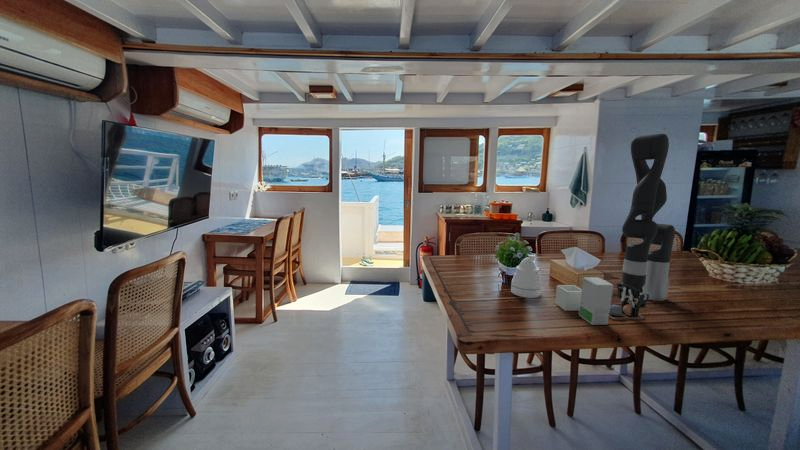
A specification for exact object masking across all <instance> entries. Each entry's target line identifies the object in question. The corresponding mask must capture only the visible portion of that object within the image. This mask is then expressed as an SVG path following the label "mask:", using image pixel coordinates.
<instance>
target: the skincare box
mask: <svg viewBox="0 0 800 450" xmlns="http://www.w3.org/2000/svg"><path fill="white" fill-rule="evenodd" d="M582 280H583V281H582V286H581V287H582V288H581V289H582V294H581V301H580V309H579V311H578V316H579V317H581V319H583V320H585V321H586V322H588V323H589V324H590V325H591V326H599V325H603V326H604V325H605V326H606V325H608V324H609V319H610V318H609V315H610V313H609V312H610V306H611V305H612V297H613V290H614V284H612V283H610V282H608V281H607V280H605V279H602V278H600V277H597V276H596V277H592V276H591V277H583V279H582Z"/></svg>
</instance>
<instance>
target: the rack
mask: <svg viewBox="0 0 800 450" xmlns="http://www.w3.org/2000/svg"><path fill="white" fill-rule="evenodd" d="M620 316H621V317H620ZM620 316H612V315H611V314H609V319H610V320H611V321H616V320H617V321H619V320H622V321H623V320H625V321H626V320H629V321H630V320H646V317H645V316H644V315H641V314H640V313H638V316H637V317H632V316H628V315H626V314H625V313H624V311H622V313H621V315H620Z"/></svg>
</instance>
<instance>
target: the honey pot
mask: <svg viewBox="0 0 800 450" xmlns="http://www.w3.org/2000/svg"><path fill="white" fill-rule="evenodd" d="M535 259H536V255H535V254H529V256H528V257H525V258H523V259H522V260H521V262H520V263H519V264H518V265H516V266H515V268H516V271H515V272H514V273H513V277H512V279H511V283H510V285H511V287H510V292H511V293H512V294H513V295H515V296H518V297H521V298H522V297H523V298H530V299H531V298H532V299H533V298H538V297H540V296H541V293H542V292H541V291H542V288H541V287H542V283H541V279H540V274H539V271H540V268H539V267H537V266H536V265H535V262H534V261H533V260H535Z"/></svg>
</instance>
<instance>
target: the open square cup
mask: <svg viewBox="0 0 800 450" xmlns="http://www.w3.org/2000/svg"><path fill="white" fill-rule="evenodd" d="M555 289H556V290H555V301H554V302H555V305H557V306H558V307H560V308H561V309H562V310H564V311H565V312H568V311H569V312H572V311H575V312H576V311H577V312H579V309H580V301H581V294H582V288H580V287H578V286H577V285H575V284H564V285H563V284H557V285H556V288H555Z"/></svg>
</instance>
